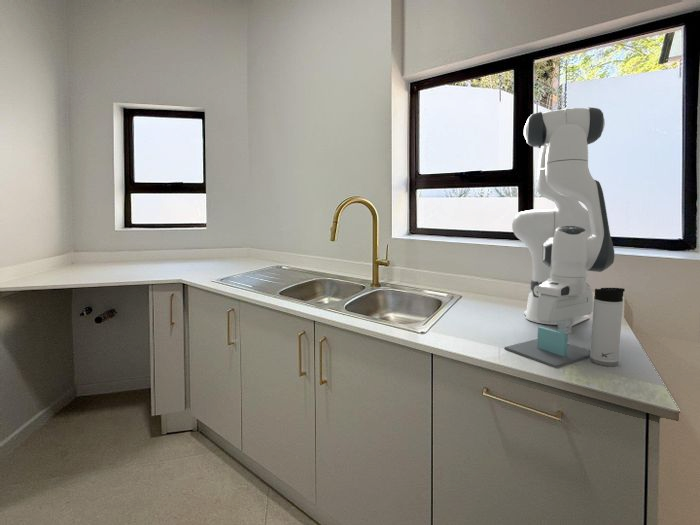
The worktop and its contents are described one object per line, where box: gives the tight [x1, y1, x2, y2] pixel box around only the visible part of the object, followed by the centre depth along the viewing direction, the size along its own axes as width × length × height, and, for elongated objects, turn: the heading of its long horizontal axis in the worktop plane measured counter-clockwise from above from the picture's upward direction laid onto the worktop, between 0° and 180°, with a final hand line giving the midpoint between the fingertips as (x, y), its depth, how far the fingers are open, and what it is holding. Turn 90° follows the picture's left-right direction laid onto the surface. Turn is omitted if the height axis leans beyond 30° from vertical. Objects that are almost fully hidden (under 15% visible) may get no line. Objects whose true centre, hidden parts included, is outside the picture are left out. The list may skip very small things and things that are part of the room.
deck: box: [537, 326, 569, 356], centre depth 113 cm, size 1×8×6 cm, turn 29°
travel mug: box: [589, 287, 625, 367], centre depth 106 cm, size 6×7×20 cm
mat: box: [504, 338, 591, 369], centre depth 115 cm, size 18×16×1 cm
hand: (564, 333), depth 115 cm, fingers closed
